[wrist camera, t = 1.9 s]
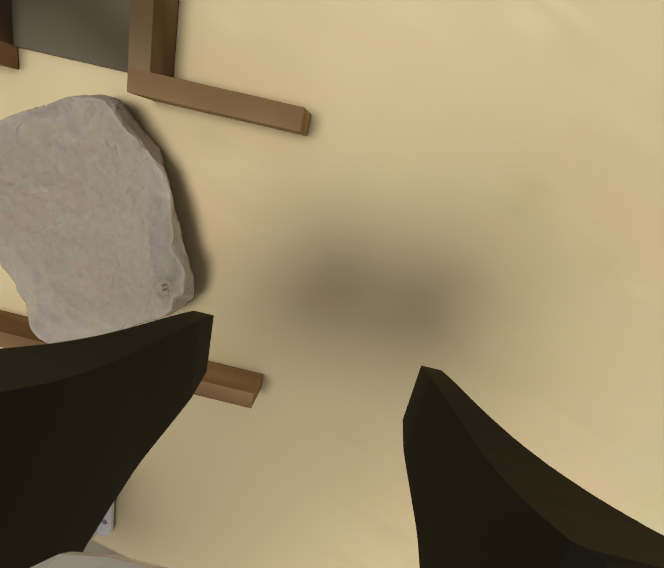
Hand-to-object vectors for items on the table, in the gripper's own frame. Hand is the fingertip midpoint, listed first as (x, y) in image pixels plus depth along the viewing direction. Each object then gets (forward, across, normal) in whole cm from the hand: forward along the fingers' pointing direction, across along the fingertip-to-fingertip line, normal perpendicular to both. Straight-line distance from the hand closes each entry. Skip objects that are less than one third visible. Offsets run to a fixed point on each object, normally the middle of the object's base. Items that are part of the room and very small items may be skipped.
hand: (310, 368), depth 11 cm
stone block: (+10, +13, 0) cm, 16 cm away
